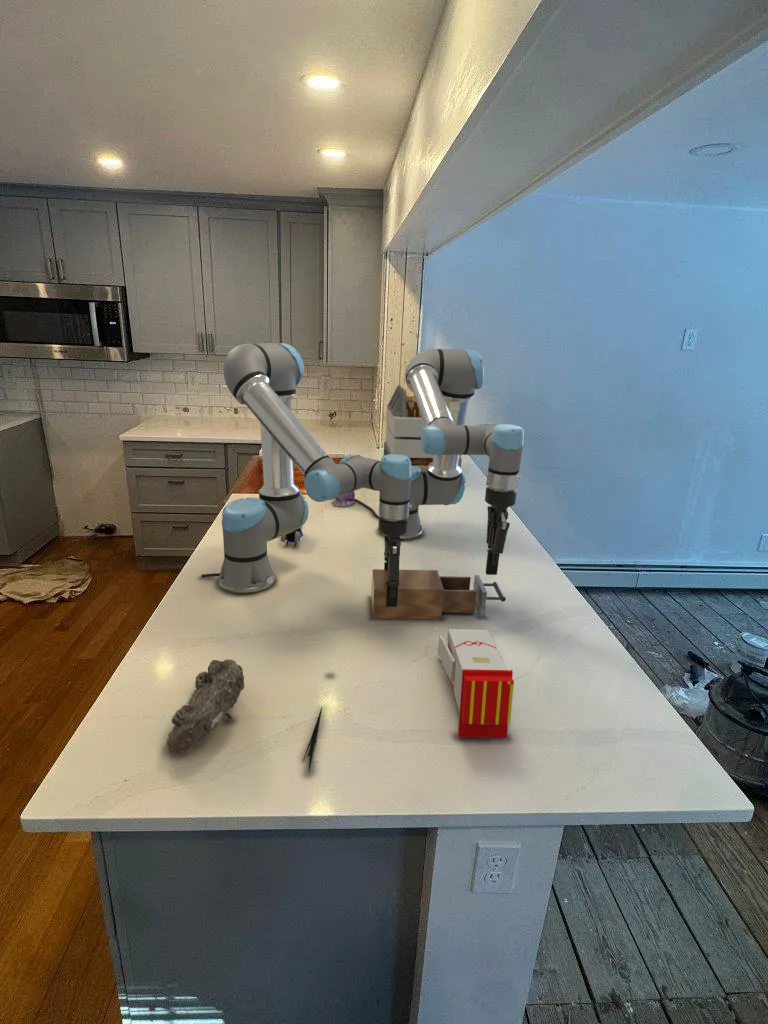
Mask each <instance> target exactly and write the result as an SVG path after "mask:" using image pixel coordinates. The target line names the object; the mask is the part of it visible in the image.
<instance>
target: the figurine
mask: <svg viewBox="0 0 768 1024" xmlns="http://www.w3.org/2000/svg"><path fill="white" fill-rule="evenodd" d="M354 499H356V493H355V491H353V492H350V493H346V494H344V495H341V496H339V497H337V498H335V499H334V502H333V503H334V505H335V506H336V507H348V506H351V505H353V504H354V503H355V501H354Z"/></svg>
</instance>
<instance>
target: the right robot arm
mask: <svg viewBox="0 0 768 1024" xmlns="http://www.w3.org/2000/svg"><path fill="white" fill-rule="evenodd" d="M404 375H405V376H404V377H405V378H404V379H405V384H406V386H407V388H408V390H409V391H410V392H411V393H413V395H414V396H415V399H416V402H417V405H418V408H419V410H420V413H421V416H422V419H423V422H424V425H425V426H424V427H423V429H422V432H421V447H422V450H423V452H424V453H425V454H433V455H434V457H433V462H432V463H430V464H429V465H428V466H427V469H426V471H422V469H421V467H420V466H411V473H412V477H411V485H410V501H409V504H411V505H412V507H411V508H408V509H409V516H408V517H407V518H408V519H409V522H408V532H407V533H406V534H404V535H401V536H400V540H401V541H410V540H415V539H418V538H420V537H421V536H422V535H423V525H422V524H421V518H420V515H419V507H420V506H436V505H437V506H441V505H443V506H449V505H457V504H459V502H461V501H462V499H463V496H464V493H465V489H466V485H465V484H466V477H465V474H464V472H462V467H461V468H460V467H459V466H458V461H459V455H461V456H487V457H489V458H488V467H487V475H486V486H487V487H486V488H485V494H484V501H485V502H486V504H488V506H487V524H486V541H485V542H486V544H487V549H486V551H487V555H486V563H485V574H486V575H487V576H497V575H498V571H499V562H500V554H504V549H505V544H506V539H507V535H508V531H509V529H510V526H511V524H510V522H508V521H507V520H508V519H509V511H508V508H510V507H513V506H514V505H515V504H516V500H517V488H518V484H519V483H518V482H519V480H520V479H521V475H520V469H521V462H522V456H523V455H522V454H523V448H524V443H525V441H524V437H525V430H524V428H522V426H519V425H516V424H507V423H499V424H495V423H491V422H483V423H480V424H478V425H469V424H468V425H467V424H465V423H466V418H467V410H468V404H469V401H470V400H471V399H472V398H473V397H475V392H476V390H479V389H481V388H482V386H483V384H484V379H485V368H484V363H483V359H482V356H481V354H480V353H479V352H478V351H477V350H471V349H466V348H464V349H461V348H460V349H459V348H458V349H457V348H428V349H424V350H421V351H420V352H418V353H417V354H415V355H414V356H413V357H412V359H411V360H410V361H409V362H408V365H407V366H406V369H405V374H404ZM303 476H304V475H303ZM303 478H304V479H305V478H306V477H305V476H304V477H303ZM354 502H355V503H357V504H359V505H361V506H363V507H365V508H366V509H368V510H369V511H370V512H371V513H372V514H373V516H374V517H375V518H377V519H378V520H379V517H380V516H379V515H378V514H377V513H376V512H375V510H374V509H373V508H372V507H370V506H369V505H367V504H366V503H364V502H362V501H361V500H358V499H357V498H355V499H354ZM379 534H380V535H381V536H382V537H385V536H386V535H384V534H382V533H380V532H379Z"/></svg>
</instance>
